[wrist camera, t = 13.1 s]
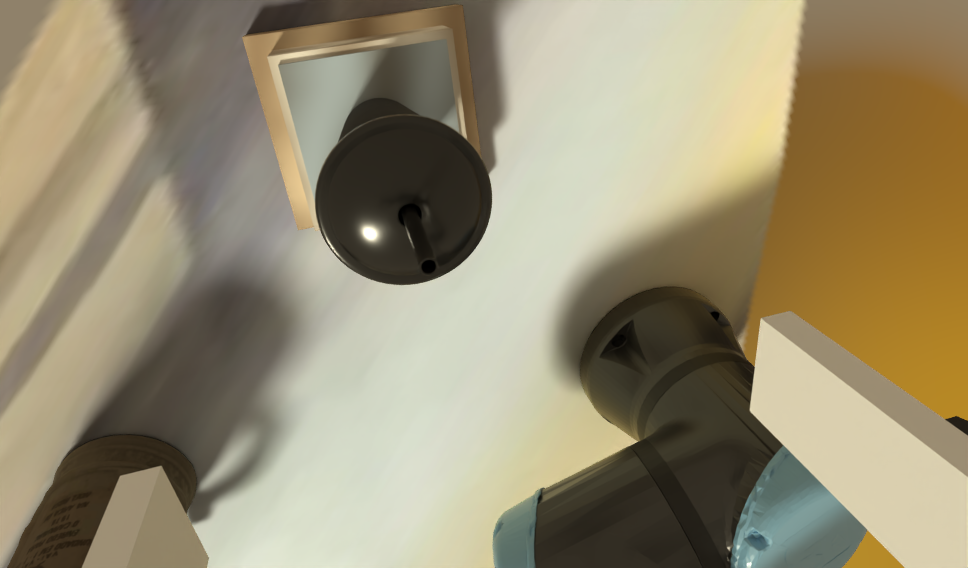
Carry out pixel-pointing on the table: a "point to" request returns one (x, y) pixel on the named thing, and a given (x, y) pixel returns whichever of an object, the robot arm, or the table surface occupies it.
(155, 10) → the table surface
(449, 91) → the plinth
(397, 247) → the drinking cup
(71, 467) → the beer stein
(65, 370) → the table surface
